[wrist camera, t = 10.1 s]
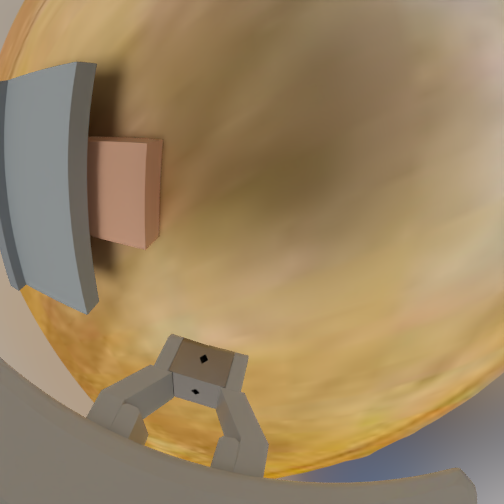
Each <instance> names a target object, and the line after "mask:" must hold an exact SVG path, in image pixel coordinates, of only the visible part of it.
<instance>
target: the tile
mask: <svg viewBox="0 0 504 504" xmlns="http://www.w3.org/2000/svg"><path fill="white" fill-rule="evenodd" d="M162 148H163V140H162V139H148V138H129V137H88V147H87V201H88V219H89V232H90V236H92V237H96V238H100V239H104V240H108V241H112V242H116V243H120V244H124V245H128V246H132V247H136V248H140V249H144V250H146V249H147V248H148V247H149V246H150V245H151V244H152V243H153V242H154V241H155V240H156V239H157V238H158V237H159V208H160V180H161V162H162Z"/></svg>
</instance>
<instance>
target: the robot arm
mask: <svg viewBox="0 0 504 504" xmlns="http://www.w3.org/2000/svg"><path fill="white" fill-rule="evenodd" d="M234 354H235V355H234ZM247 362H248V355H244V354H240V353H236V352H233V351H229V350H225V349H221V348H218V347H214V346H210V345H209V346H208V345H205V344H202V343H199V342H196V341H193V340H190V339H187V338H184V337H181V336H177V335H174V334H171V335H170V336H169V337H168V339H167V341H166V343H165V345H164V347H163V349H162V351H161V353H160V355H159V357H158V359H157V361H156V363H155V365H154V366H153V365H149V366H147V367H145V368H143V369H141V370H139V371H138V372H136V373H134V374H132V375H130V376H128V377H126V378H124V379H123V380H121V381H119V382H117V383H115V384H113V385H111V386H109V387H107V388H105V389H103V390H101V392H100V394H99V396H98V397H97V399H96V401H95V403H94V405H93V407H92V408H91V410H90V412H89V414H88V416H87V417H86V418H85V417H84V416H81V415H80V414H78V413H77V412H75V411H73V410H71V409H70V408H68V407H66V406H65V405H63V404H62V403H60V402H58V401H57V400H55V399H54V398H52V397H51V396H49V395H48V394H46V393H45V392H44V391H42V390H41V389H39V388H38V387H37V386H35V385H34V384H32V383H31V382H30V381H28V380H27V379H26V378H24V377H23V376H22V375H21V374H19V373H18V372H17V371H16V370H14V369H13V368H12V367H11V366H10V365H8V364H7V363H6V362H5V361H4V360H3V359H1V358H0V504H477V493H476V488H475V485H474V484H473V483H472V481H471V480H470V479H469V478H468V476H466V474H465V473H464V472H463V471H462V470H461V469H459V468H452V469H447V470H443V471H439V472H435V473H430V474H425V475H419V476H414V477H408V478H401V479H393V480H385V481H374V482H356V483H315V482H298V481H286V480H278V479H270V478H263V475H264V469H265V463H266V457H267V451H268V445H269V444H268V442H267V440H266V438H265V436H264V434H263V432H262V430H261V428H260V425H259V423H258V421H257V419H256V417H255V415H254V413H253V411H252V408H251V406H250V404H249V402H248V400H247V397H246V395H245V393H243V392H241V388H242V384H243V380H244V375H245V371H246V367H247ZM174 396H175V397H178V398H182V399H185V400H188V401H192V402H195V403H198V404H202V405H205V406H208V407H211V408H215V409H216V412H217V415H218V418H219V421H220V424H221V427H222V430H223V433H224V436H223V437H221V438H219V441H218V444H217V447H216V450H215V453H214V456H213V460H212V463H211V467H208V466H204V465H201V464H197V463H194V462H190V461H187V460H184V459H180V458H177V457H174V456H171V455H168V454H165V453H163V452H160V451H157V450H154V449H152V448H149V447H147V446H144V445H145V442H146V440H147V437H148V435H149V434H148V432H147V429H146V427H145V424H144V422H143V419H144V418H145V417H147V416H148V415H150V414H151V413H153V412H154V411H155V410H157V409H158V408H160V407H161V406H162V405H164V404H165V403H167V402H168V401H169V400H171V399H172V398H173V397H174Z"/></svg>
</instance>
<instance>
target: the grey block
mask: <svg viewBox="0 0 504 504" xmlns="http://www.w3.org/2000/svg"><path fill="white" fill-rule="evenodd" d="M96 66H97V64H95V63H86V62H73V63H68V64H63V65H59V66H55V67H51V68H47V69H43V70H39V71H36V72H32V73H29V74H26V75H22V76H19V77H16V78H13V79H11V80H7V81H0V251H1V254H2V258H3V262H4V265H5V269H6V272H7V275H8V278H9V281H10V284H11V286H12V287H14V288H15V289H17V290H20V289H21V288H23V287H24V286H25V285H26V284H27V285H29V286H30V287H32V288H34V289H36V290H38V291H40V292H41V293H43V294H45V295H47V296H49V297H51V298H53V299H55V300H57V301H59V302H61V303H63V304H65V305H67V306H69V307H71V308H73V309H76V310H78V311H80V312H82V313H84V314H86V315H88V314H89V312H90V311H91V310H92V309H93V308H94V307H95V305H96V304H97V303H98V302H99V298H98V292H97V286H96V280H95V274H94V267H93V260H92V252H91V242H90V232H89V219H88V201H87V147H88V129H89V117H90V107H91V98H92V91H93V84H94V77H95V71H96Z"/></svg>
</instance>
